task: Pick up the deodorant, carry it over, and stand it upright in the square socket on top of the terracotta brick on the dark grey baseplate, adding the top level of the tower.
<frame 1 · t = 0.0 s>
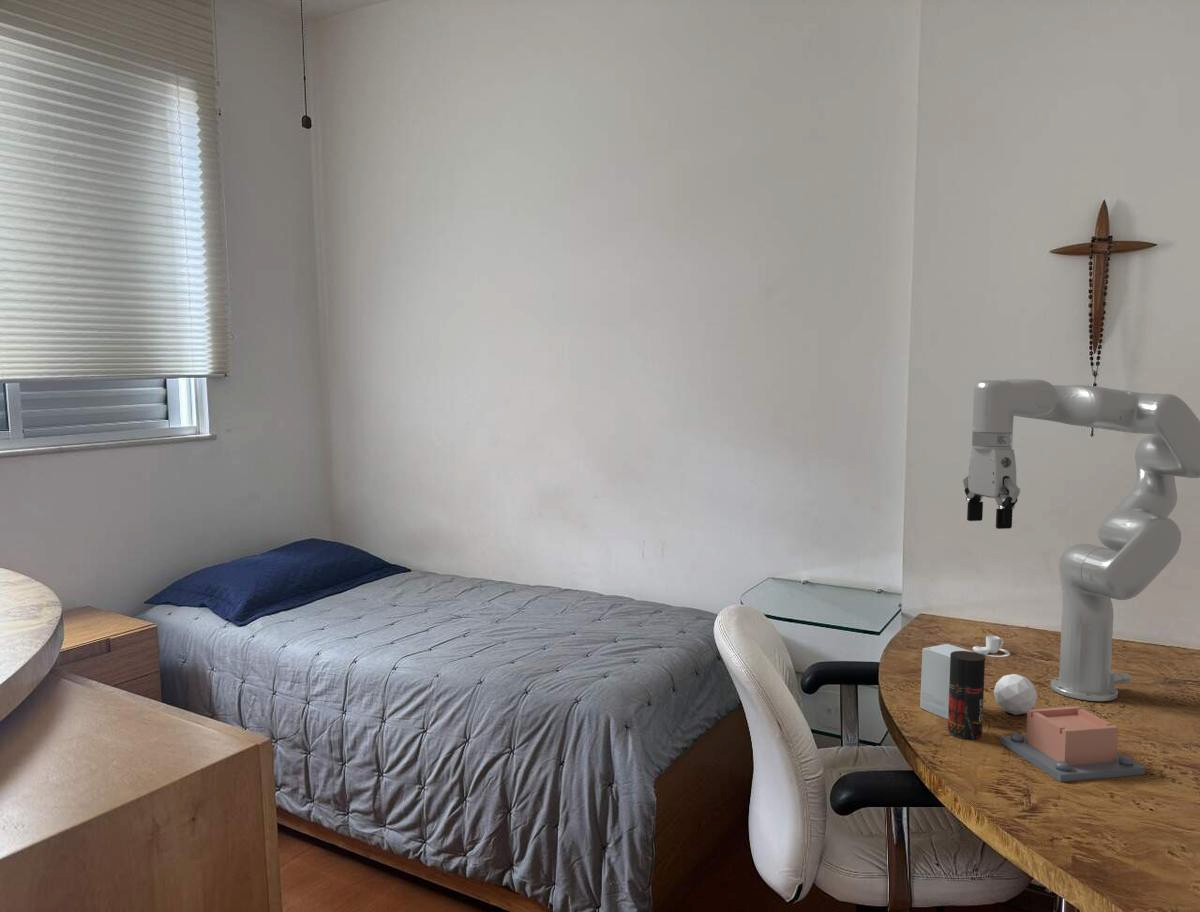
hand: (988, 524, 181), 37 cm above the table, tool pointing down, fingers open, 9 cm apart
deodorant: (964, 734, 166), on the table
supplement box: (946, 712, 178), on the table
tower base: (1069, 757, 156), on the table
teacup and saucer: (979, 651, 218), on the table
geometric ball: (1014, 713, 177), on the table
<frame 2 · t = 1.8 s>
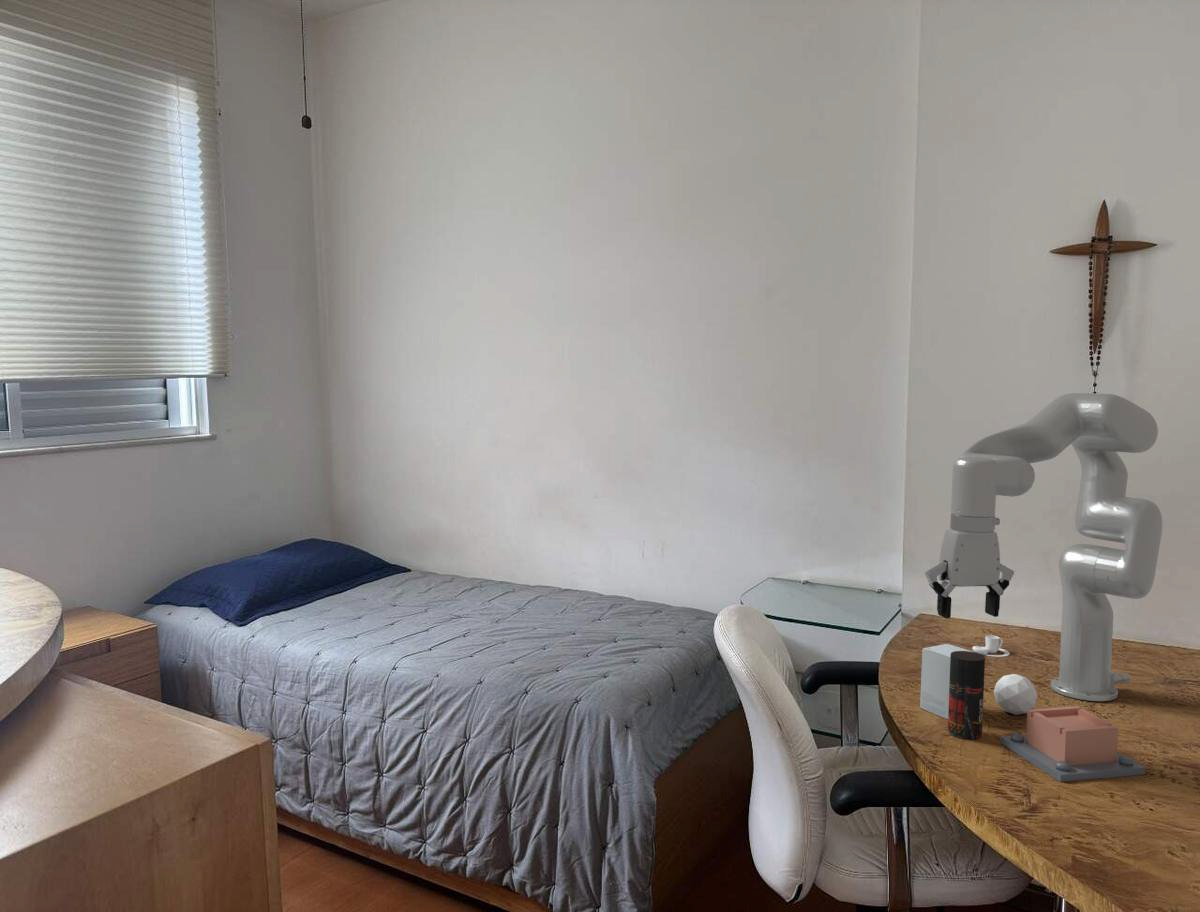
hand: (967, 615, 164), 23 cm above the table, tool pointing down, fingers open, 9 cm apart
nothing on the table moved.
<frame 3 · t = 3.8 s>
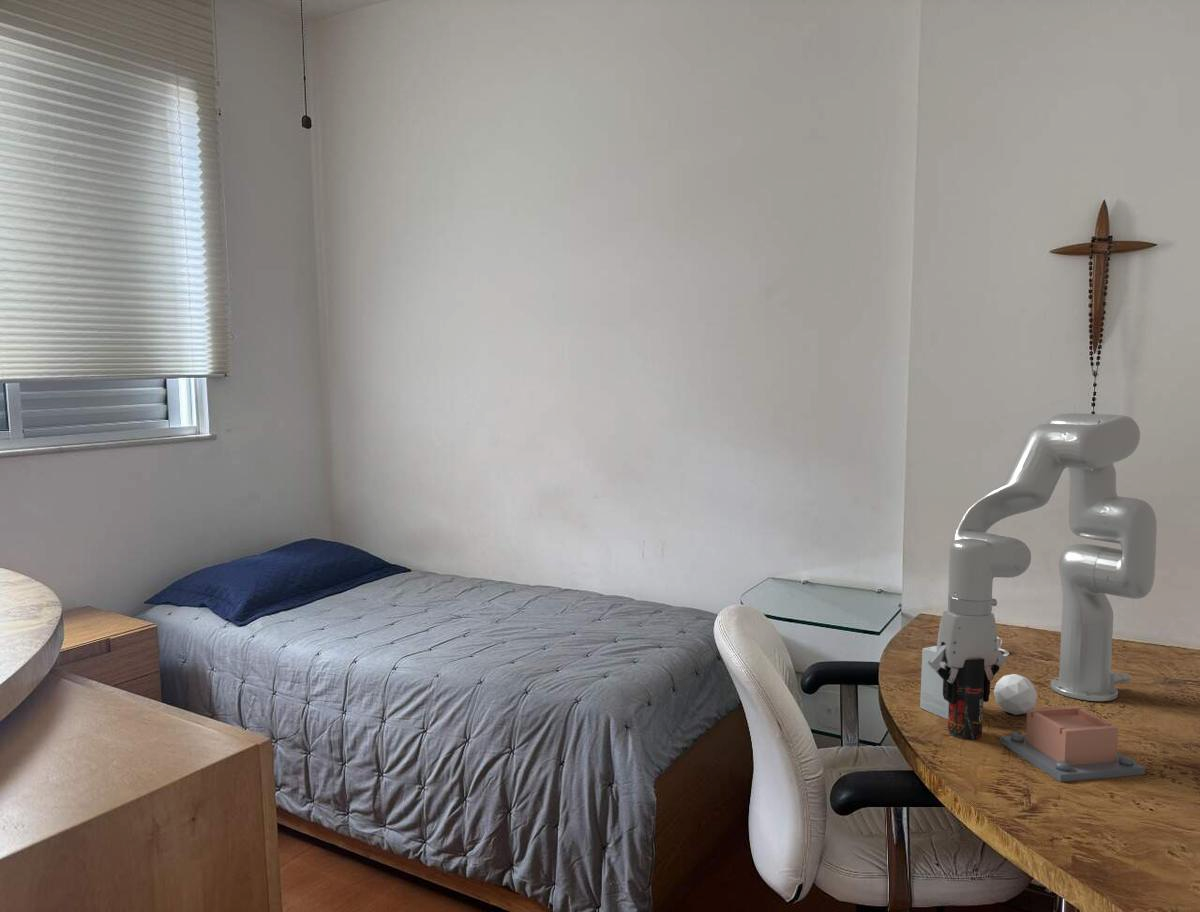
hand: (965, 699, 166), 7 cm above the table, tool pointing down, fingers closed on deodorant, 6 cm apart
deodorant: (964, 734, 166), on the table, touching gripper
everything else where it was.
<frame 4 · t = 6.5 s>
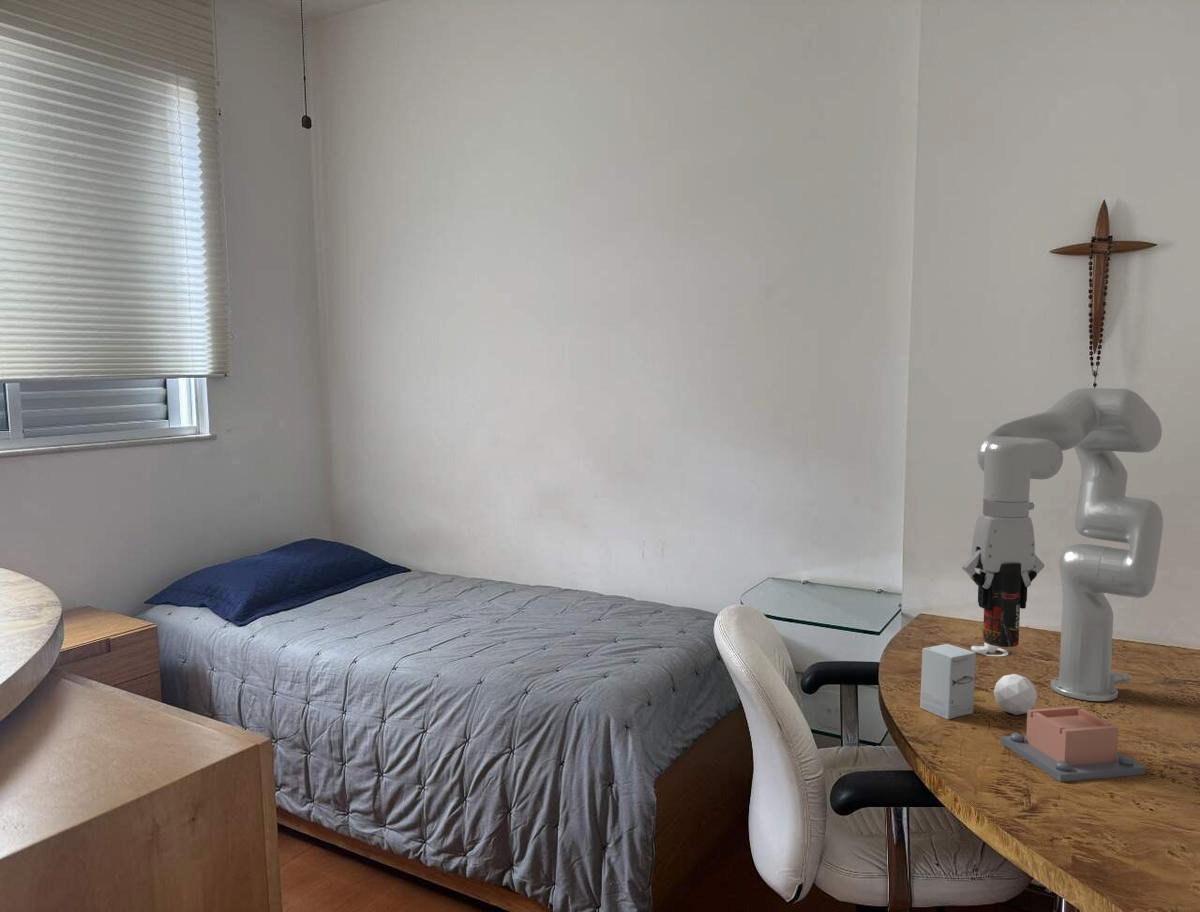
hand: (1002, 606, 161), 25 cm above the table, tool pointing down, fingers closed on deodorant, 6 cm apart
deodorant: (1000, 643, 161), point 18 cm above the table, touching gripper
everything else where it was.
when the fingers open (15 cm above the table, at t = 9.7 s): deodorant drops 2 cm, resting on tower base.
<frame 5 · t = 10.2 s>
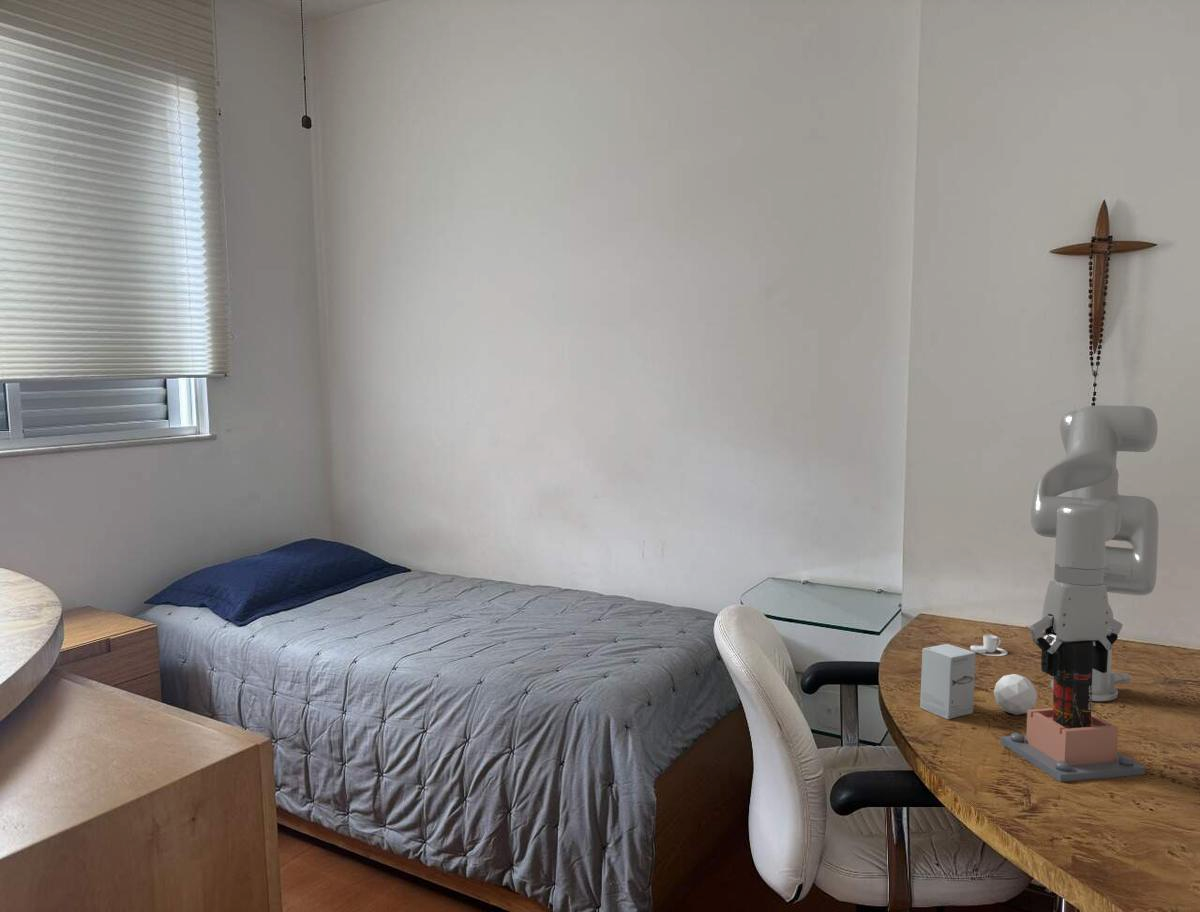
hand: (1073, 672, 154), 15 cm above the table, tool pointing down, fingers open, 9 cm apart
deodorant: (1071, 724, 155), point 6 cm above the table, touching tower base
everything else where it was.
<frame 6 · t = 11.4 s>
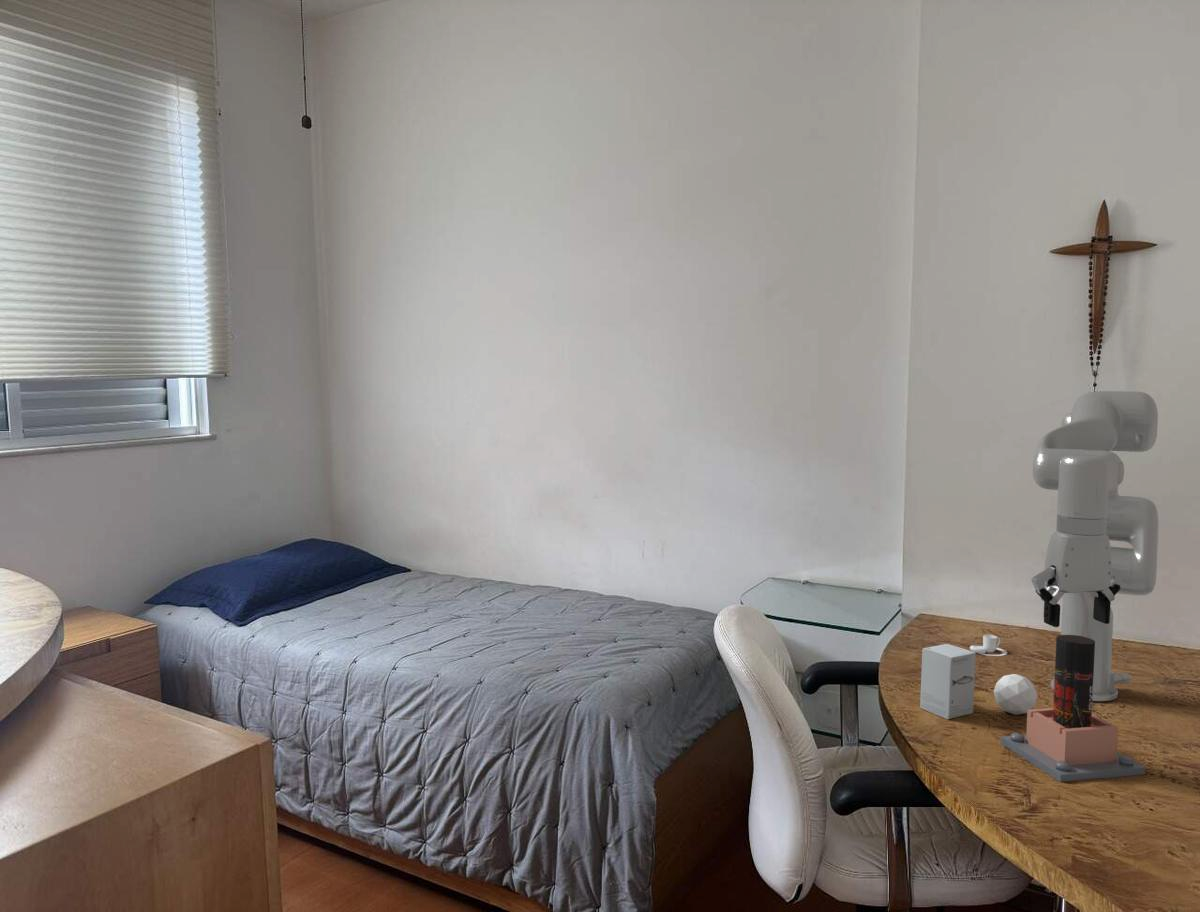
hand: (1076, 623, 154), 24 cm above the table, tool pointing down, fingers open, 9 cm apart
nothing on the table moved.
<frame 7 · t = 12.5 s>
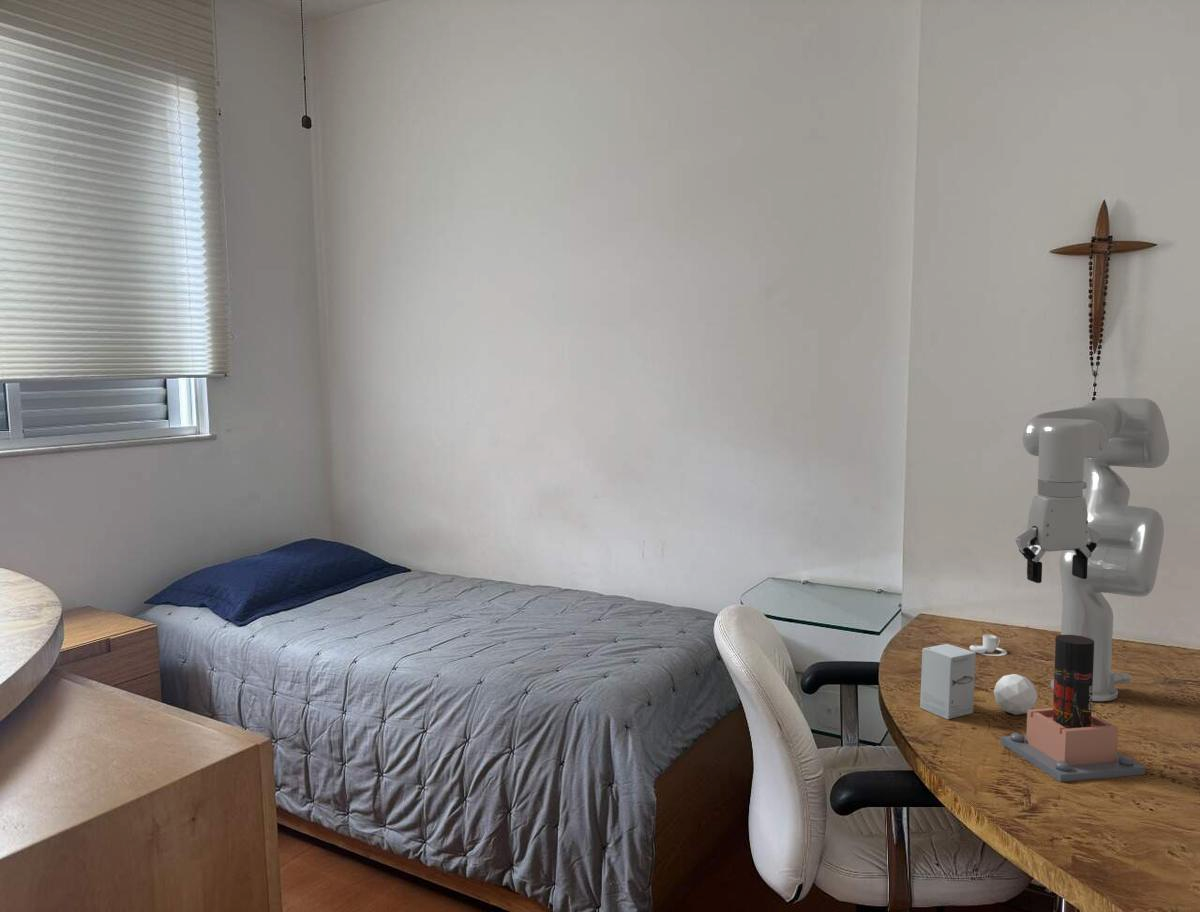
hand: (1056, 579, 166), 29 cm above the table, tool pointing down, fingers open, 9 cm apart
nothing on the table moved.
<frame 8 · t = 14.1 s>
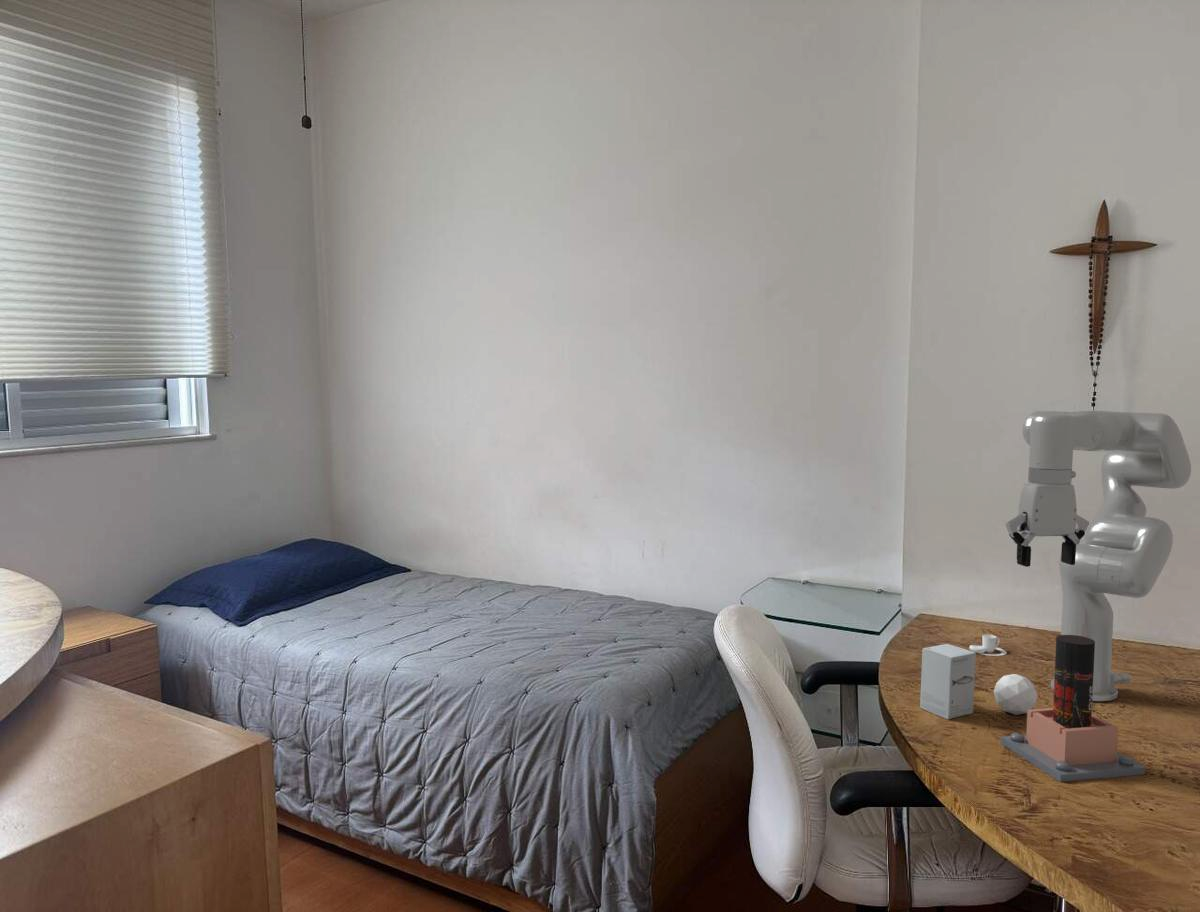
hand: (1045, 564, 173), 30 cm above the table, tool pointing down, fingers open, 9 cm apart
nothing on the table moved.
at the end: deodorant 0.2 cm off-centre on the tower base, point 6.0 cm above the tower base's base; deodorant tilted 0°; the gripper is holding nothing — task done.
